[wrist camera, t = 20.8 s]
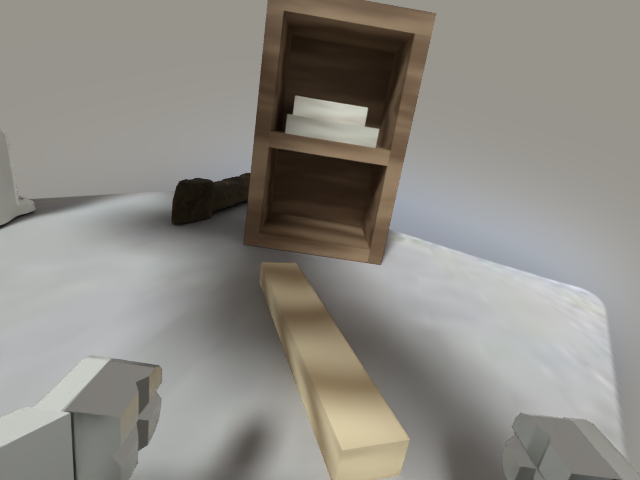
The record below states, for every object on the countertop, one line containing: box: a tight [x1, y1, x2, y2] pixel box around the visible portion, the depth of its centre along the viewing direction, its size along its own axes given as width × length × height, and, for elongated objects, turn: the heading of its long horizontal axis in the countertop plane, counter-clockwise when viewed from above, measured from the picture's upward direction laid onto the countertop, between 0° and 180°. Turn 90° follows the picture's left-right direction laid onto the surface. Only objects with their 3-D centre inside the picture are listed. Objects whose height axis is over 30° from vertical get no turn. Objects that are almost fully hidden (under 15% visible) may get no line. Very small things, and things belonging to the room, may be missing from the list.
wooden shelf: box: [244, 0, 436, 265], centre depth 44 cm, size 12×16×26 cm
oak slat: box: [259, 262, 410, 480], centre depth 25 cm, size 20×3×2 cm, turn 18°
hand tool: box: [172, 173, 251, 224], centre depth 55 cm, size 23×5×6 cm, turn 163°
